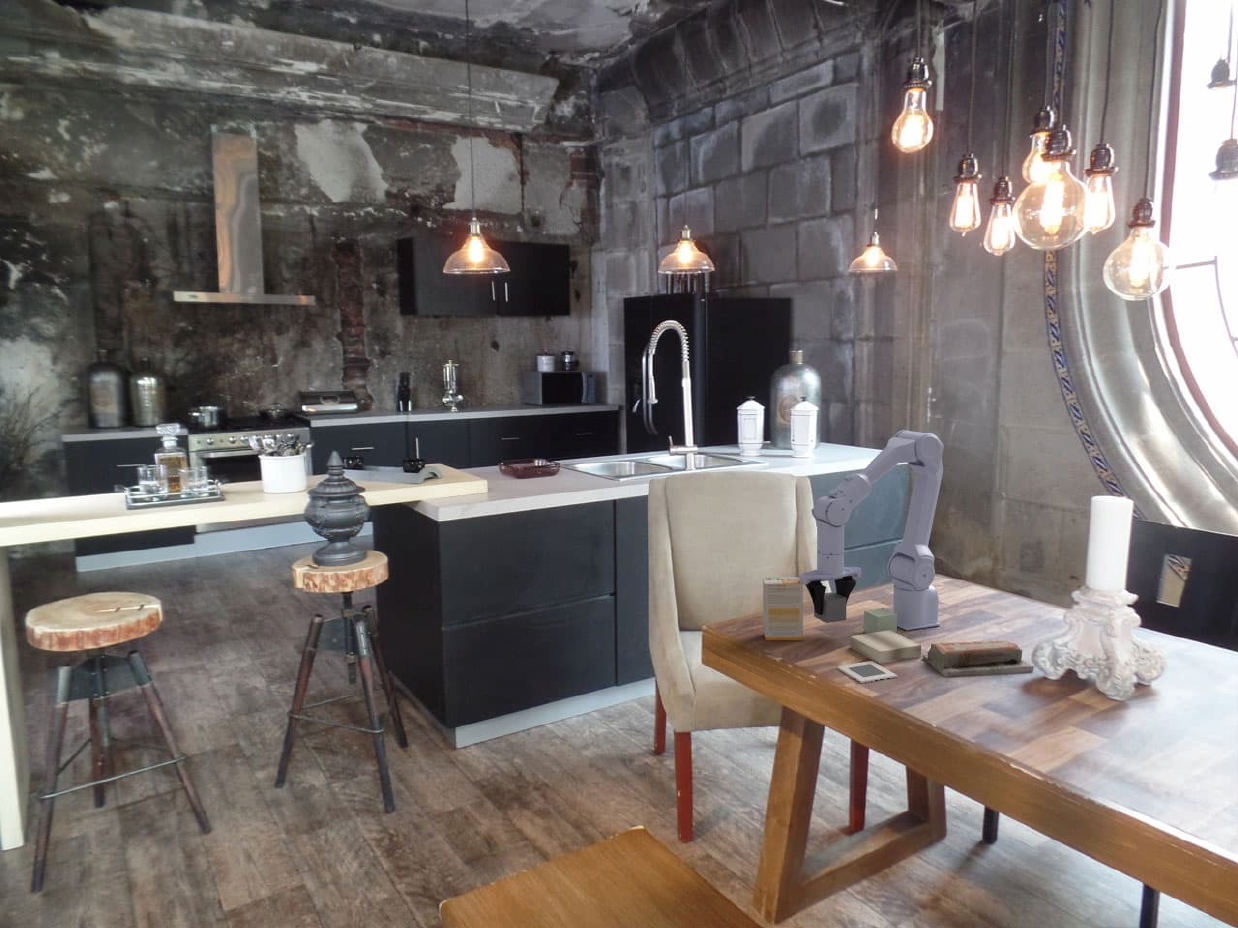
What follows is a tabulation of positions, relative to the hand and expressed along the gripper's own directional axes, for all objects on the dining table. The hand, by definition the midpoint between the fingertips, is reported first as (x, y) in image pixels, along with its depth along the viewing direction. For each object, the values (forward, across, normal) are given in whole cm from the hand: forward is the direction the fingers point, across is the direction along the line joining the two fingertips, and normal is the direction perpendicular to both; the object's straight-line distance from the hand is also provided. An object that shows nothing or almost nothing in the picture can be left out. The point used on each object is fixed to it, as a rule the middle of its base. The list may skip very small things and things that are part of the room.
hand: (830, 611), depth 184 cm
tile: (+5, +5, +21) cm, 22 cm away
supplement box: (+6, +10, -3) cm, 12 cm away
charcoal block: (+2, 0, 0) cm, 2 cm away
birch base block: (+6, -5, +13) cm, 15 cm away
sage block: (+6, -11, +3) cm, 13 cm away
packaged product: (+6, -17, +26) cm, 32 cm away
